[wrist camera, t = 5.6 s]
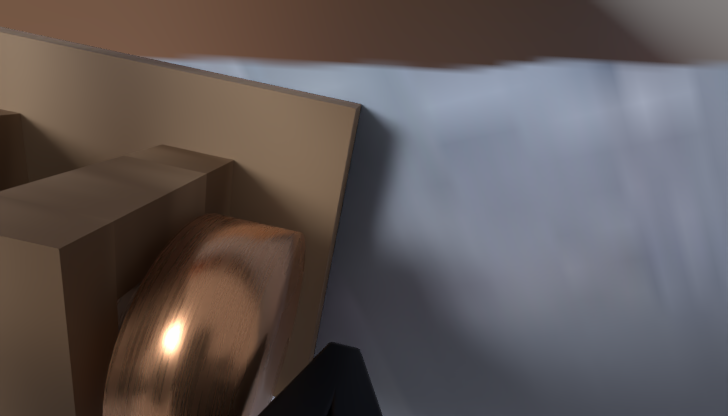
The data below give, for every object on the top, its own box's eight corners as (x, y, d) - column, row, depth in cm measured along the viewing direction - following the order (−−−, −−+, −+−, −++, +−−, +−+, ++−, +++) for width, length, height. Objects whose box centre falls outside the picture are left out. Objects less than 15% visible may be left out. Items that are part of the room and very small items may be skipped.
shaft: (-98, 264, 12) (-433, 391, 7) (-142, 102, 10) (-628, 125, 5) (290, 352, 11) (215, 544, 7) (315, 202, 10) (236, 320, 5)
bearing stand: (-41, 290, 14) (-412, 470, 8) (-103, 4, 11) (-858, -103, 4) (310, 369, 14) (234, 624, 8) (361, 104, 11) (302, 148, 4)
